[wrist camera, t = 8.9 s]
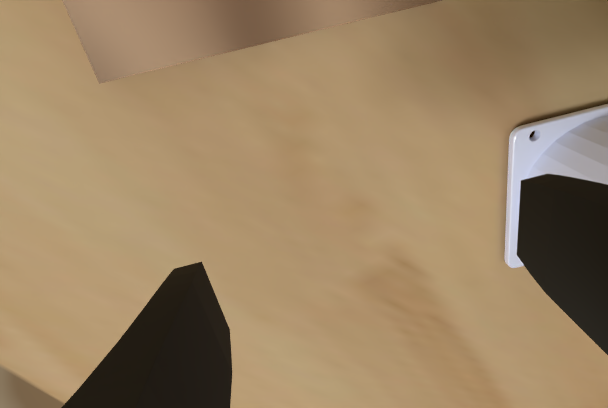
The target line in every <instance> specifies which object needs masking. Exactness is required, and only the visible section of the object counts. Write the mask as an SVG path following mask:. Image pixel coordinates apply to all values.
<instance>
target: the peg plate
mask: <svg viewBox="0 0 608 408" xmlns="http://www.w3.org/2000/svg"><path fill="white" fill-rule="evenodd" d="M62 1H63V3H64V5H65V8H66V10H67V12H68V14H69V17H70V19H71V21H72V23H73V26H74V28H75V30H76V32H77V35H78V37H79V39H80V41H81V44H82V46H83V48H84V50H85V53H86V55H87V57H88V59H89V61H90V64H91V66H92V68H93V70H94V73H95V75H96V77H97V79H98V82H99V83H103V82H107V81H111V80H116V79H120V78H124V77H128V76H132V75H136V74H140V73H144V72H149V71H153V70H157V69H161V68H165V67H169V66H173V65H177V64H182V63H186V62H190V61H194V60H198V59H202V58H206V57H210V56H215V55H219V54H223V53H227V52H231V51H235V50H239V49H243V48H247V47H252V46H256V45H260V44H264V43H268V42H272V41H276V40H280V39H285V38H289V37H293V36H297V35H301V34H305V33H309V32H313V31H318V30H322V29H326V28H330V27H334V26H338V25H342V24H346V23H351V22H355V21H359V20H363V19H367V18H371V17H375V16H379V15H384V14H388V13H392V12H396V11H400V10H404V9H408V8H412V7H417V6H421V5H425V4H429V3H433V2H437V1H441V0H62Z"/></svg>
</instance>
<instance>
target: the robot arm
mask: <svg viewBox="0 0 608 408" xmlns="http://www.w3.org/2000/svg"><path fill="white" fill-rule="evenodd" d="M533 131H535V133H534V135H533V136H532V137H531V138H529V136H530V134H531V133H532V132H533ZM505 262H506V263H507V264H508V265H509V266H510V267H511V268H517V267H521V266H525V267H526V268H527V270H528V271H529V273H530V274H531V275H532V277H533V278H534V279H535V280H536V282H537V283H538V284H539V285H540V287H541V288H542V289H543V290H544V292H545V293H546V294H547V295H548V296H549V297H550V298H551V299H552V300H553V301H554V302H555V303H556V304H557V305H558V306H559V307H560V308H561V309H562V310H563V311H564V312H565V313H566V314H567V315H568V316H569V317H570V318H571V319H572V320H573V321H574V322H575V323H576V324H577V325H578V326H579V327H580V328H581V329H582V330H583V331H584V332H585V333H586V334H587V335H588V336H589V337H590V338H591V339H592V340H593V341H594V342H595V343H596V344H597V345H598V346H599V347H600V348H601V349H602V350H603V351H604V352H605V353H606V354H607V355H608V104H605V105H601V106H597V107H593V108H589V109H585V110H581V111H577V112H573V113H569V114H565V115H561V116H557V117H553V118H549V119H545V120H541V121H537V122H533V123H529V124H525V125H521V126H519V127H516V128H515V129H514V130H513V131H512V132H511V134H510V138H509V157H508V183H507V209H506V235H505ZM231 383H232V360H231V343H230V329H229V327H228V325H227V322H226V320H225V317H224V315H223V312H222V310H221V308H220V305H219V303H218V300H217V298H216V295H215V293H214V291H213V288H212V286H211V283H210V281H209V278H208V276H207V274H206V271H205V269H204V266H203V264H202V262H199V263H195V264H191V265H187V266H184V267H180V268H176V269H174V270H173V271H172V272H171V273H170V274H169V276H168V277H167V278H166V280H165V281H164V282H163V283H162V285H161V286H160V287H159V289H158V290H157V291H156V293H155V294H154V295H153V297H152V298H151V299H150V301H149V302H148V303H147V305H146V306H145V307H144V309H143V310H142V311H141V313H140V314H139V315H138V317H137V318H136V319H135V320H134V322H133V323H132V324H131V326H130V327H129V328H128V330H127V331H126V332H125V333H124V335H123V336H122V337H121V339H120V340H119V341H118V342H117V344H116V345H115V346H114V347H113V348H112V350H111V351H110V352H109V353H108V354H107V356H106V357H105V358H104V359H103V360H102V362H101V363H100V364H99V365H98V366H97V368H96V369H95V370H94V371H93V372H92V374H91V375H90V376H89V377H88V378H87V379H86V381H85V382H84V383H83V384H82V385H81V387H80V388H79V389H78V390H77V391H76V392H75V393H74V395H73V396H72V397H71V398H70V399H69V400H68V401H67V402H66V403H65V405H64V406H63V407H62V408H230V399H231Z"/></svg>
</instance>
